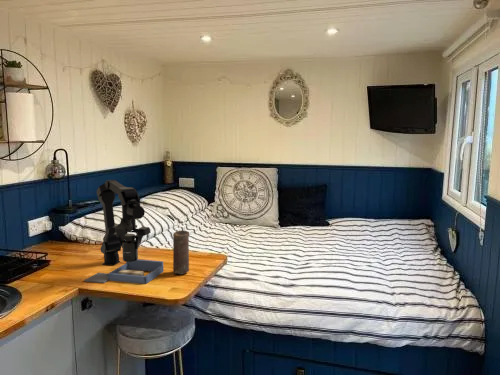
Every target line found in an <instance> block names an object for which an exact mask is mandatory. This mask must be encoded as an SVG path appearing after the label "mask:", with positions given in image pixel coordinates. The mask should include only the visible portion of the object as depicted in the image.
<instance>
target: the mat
mask: <svg viewBox="0 0 500 375" xmlns="http://www.w3.org/2000/svg"><path fill="white" fill-rule="evenodd" d="M108 273H109V272H108ZM108 273H106V272H105V273H104V272H97V273H95V274H93V275H91V276H89V277H87V278H86V279H84V280H83V281H84V282H85V283H86V282H87V283H97V284H105V283H107V282H109V281H110V280H109V279H108Z"/></svg>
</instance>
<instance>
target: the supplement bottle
mask: <svg viewBox="0 0 500 375" xmlns="http://www.w3.org/2000/svg"><path fill="white" fill-rule="evenodd" d="M135 235H136V234H135V233H127V234H126V235H124V239H125V240H124V241H123V243H122V246H121V250H122V261H123V262H125V263H126V262H133V261H136V260H137V259H139V250H138V249H139V248H138V249H136V238H135V237H134V236H135Z"/></svg>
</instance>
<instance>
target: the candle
mask: <svg viewBox="0 0 500 375" xmlns="http://www.w3.org/2000/svg"><path fill="white" fill-rule="evenodd" d="M189 235H190V234H189V231H188V230H177V231H175V232H173V238H172V241H173V242H172V244H173V246H172V247H173V249H172V250H173V251H172V252H173V254H172V255H173V258H172V259H173V260H172V261H173V262H172V265H173V266H172V267H173V268H172V270H173V271H172V273H173V274H177V275H184V274H186V273H188V272H190V268H189V267H190V252H189V250H190V248H189V246H190V242H189V240H190V239H189Z"/></svg>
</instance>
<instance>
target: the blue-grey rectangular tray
mask: <svg viewBox="0 0 500 375" xmlns="http://www.w3.org/2000/svg"><path fill="white" fill-rule="evenodd" d="M121 270H133V271H144V272H149V273H148V274H146V275H144V276H137V275H127V274H119V271H121ZM162 273H164V261H163V260H162V261H161V260H149V259H139V258H138V259H137V260H136V261H133V262H125V263H123V265H121V266H119V267H117V268H115V269H114V270H112V271H110V272H108V279H109V281H112V282H113V281H114V282H124V283H133V284H144V285H146V284H148V283H150V282H151V281H152V280H154V279H155V278H157V277H158V276H160V275H161V274H162Z"/></svg>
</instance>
